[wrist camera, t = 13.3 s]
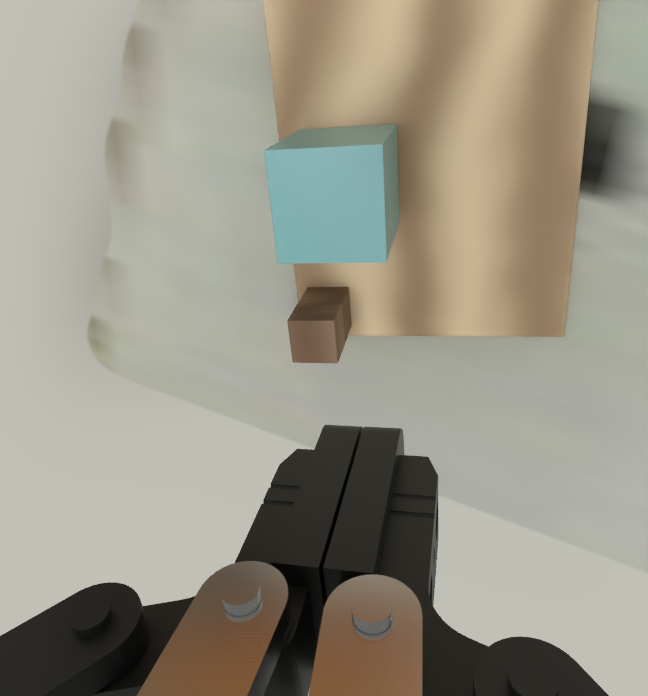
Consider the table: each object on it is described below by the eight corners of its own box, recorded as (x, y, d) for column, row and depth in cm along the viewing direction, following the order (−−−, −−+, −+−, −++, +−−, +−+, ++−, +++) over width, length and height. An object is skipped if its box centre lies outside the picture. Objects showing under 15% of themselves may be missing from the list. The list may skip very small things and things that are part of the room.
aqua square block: (397, 123, 31) (382, 144, 25) (399, 222, 33) (386, 262, 27) (299, 129, 32) (264, 150, 26) (308, 225, 34) (277, 263, 28)
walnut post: (348, 286, 36) (333, 320, 32) (351, 325, 38) (337, 363, 33) (307, 287, 37) (287, 320, 33) (311, 325, 38) (292, 362, 34)
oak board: (617, -216, 25) (621, -221, 24) (562, 332, 36) (564, 336, 35) (249, -150, 28) (245, -153, 27) (304, 330, 39) (302, 334, 39)
